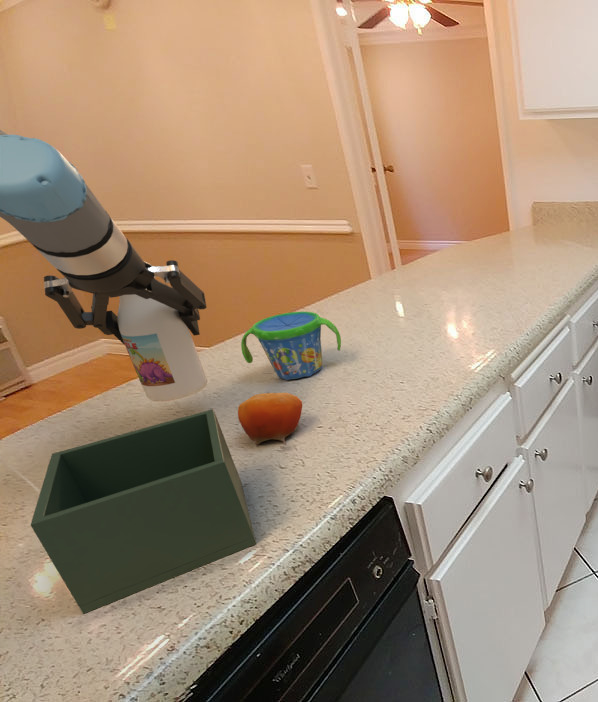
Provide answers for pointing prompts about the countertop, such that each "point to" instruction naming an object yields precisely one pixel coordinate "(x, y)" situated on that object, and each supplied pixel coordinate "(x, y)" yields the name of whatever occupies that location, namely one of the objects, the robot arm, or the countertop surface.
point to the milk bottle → (160, 349)
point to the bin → (141, 508)
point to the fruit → (270, 416)
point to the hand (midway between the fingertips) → (163, 333)
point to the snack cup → (291, 343)
